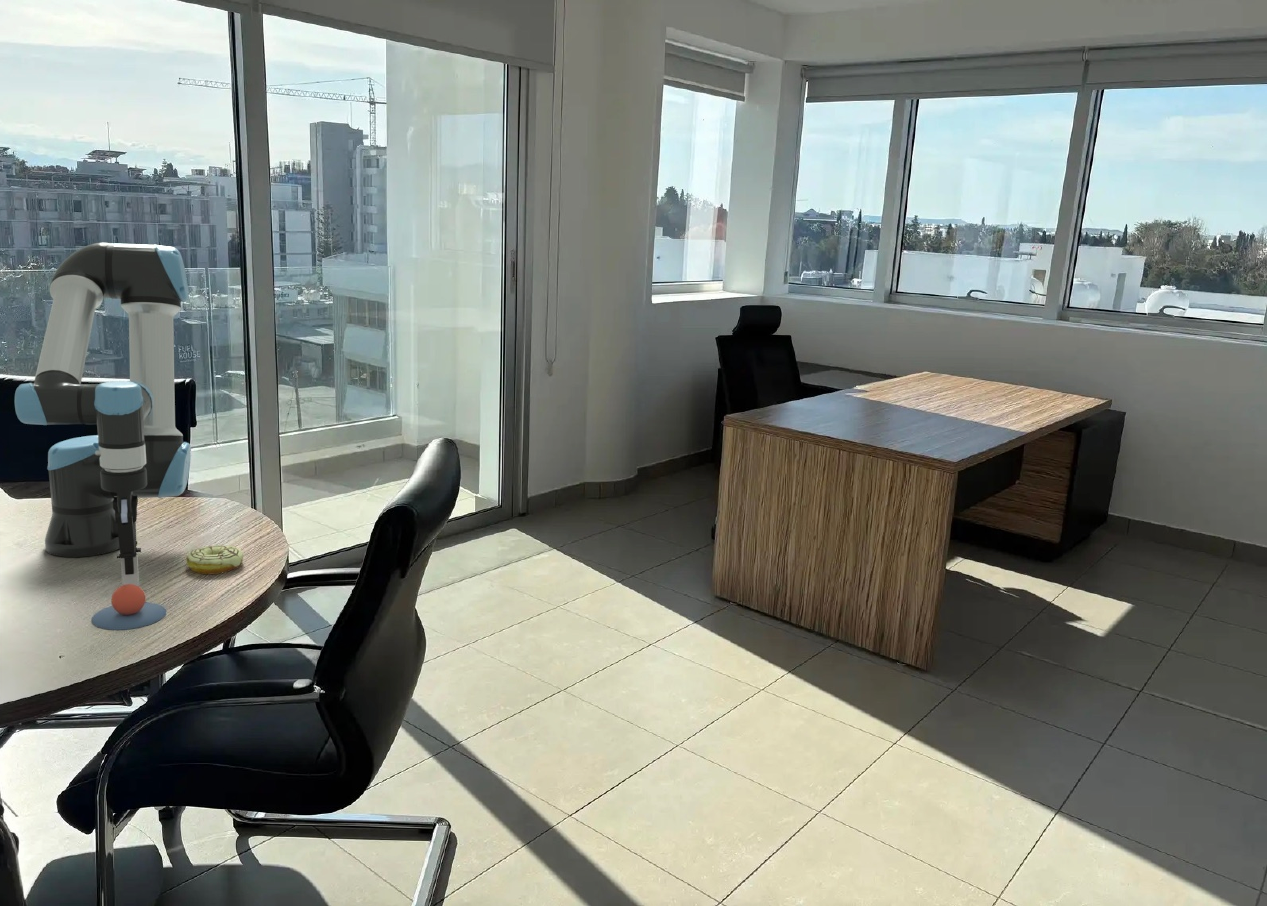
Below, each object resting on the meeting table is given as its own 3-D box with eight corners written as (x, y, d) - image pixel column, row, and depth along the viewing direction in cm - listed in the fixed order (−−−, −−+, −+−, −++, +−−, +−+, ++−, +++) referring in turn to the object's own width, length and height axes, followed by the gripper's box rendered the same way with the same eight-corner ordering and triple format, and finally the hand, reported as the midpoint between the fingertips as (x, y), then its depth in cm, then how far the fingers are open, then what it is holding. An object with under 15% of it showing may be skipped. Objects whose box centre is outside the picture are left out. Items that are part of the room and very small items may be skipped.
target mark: (85, 611, 176) (85, 610, 176) (156, 598, 183) (156, 597, 183) (99, 635, 167) (99, 634, 167) (174, 620, 174) (174, 619, 174)
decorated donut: (249, 571, 200) (248, 554, 199) (193, 580, 194) (192, 562, 193) (235, 555, 208) (235, 539, 207) (182, 563, 202) (181, 546, 201)
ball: (105, 604, 171) (108, 617, 175) (139, 608, 172) (141, 621, 177) (115, 576, 174) (118, 591, 178) (148, 581, 176) (150, 595, 180)
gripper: (102, 459, 181) (110, 577, 187) (97, 477, 170) (106, 603, 175) (147, 457, 184) (154, 574, 190) (145, 475, 173) (152, 598, 178)
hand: (131, 587), depth 183 cm, fingers closed
